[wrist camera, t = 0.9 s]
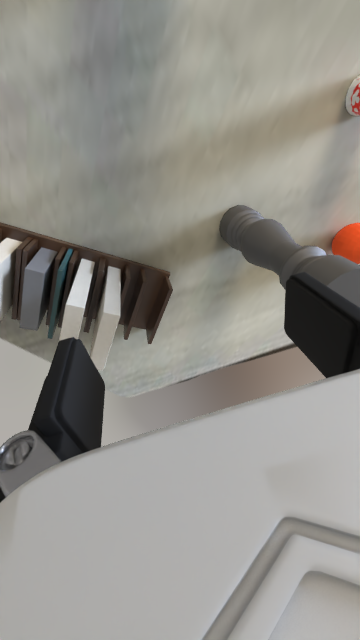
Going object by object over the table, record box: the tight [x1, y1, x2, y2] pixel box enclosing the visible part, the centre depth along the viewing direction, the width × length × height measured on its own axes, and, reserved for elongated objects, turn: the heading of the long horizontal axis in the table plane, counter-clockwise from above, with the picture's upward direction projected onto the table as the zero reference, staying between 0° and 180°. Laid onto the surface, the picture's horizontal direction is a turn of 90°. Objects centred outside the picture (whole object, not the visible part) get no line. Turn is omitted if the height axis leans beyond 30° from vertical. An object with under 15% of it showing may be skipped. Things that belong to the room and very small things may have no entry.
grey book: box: [20, 247, 58, 331], centre depth 37 cm, size 2×9×8 cm, turn 158°
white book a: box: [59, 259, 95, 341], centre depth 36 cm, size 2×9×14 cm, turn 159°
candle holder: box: [220, 205, 360, 307], centre depth 32 cm, size 6×6×25 cm
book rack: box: [0, 223, 173, 344], centre depth 38 cm, size 30×12×9 cm, turn 68°
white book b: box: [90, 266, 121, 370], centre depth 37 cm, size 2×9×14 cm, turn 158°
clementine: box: [332, 223, 360, 264], centre depth 44 cm, size 8×7×7 cm
